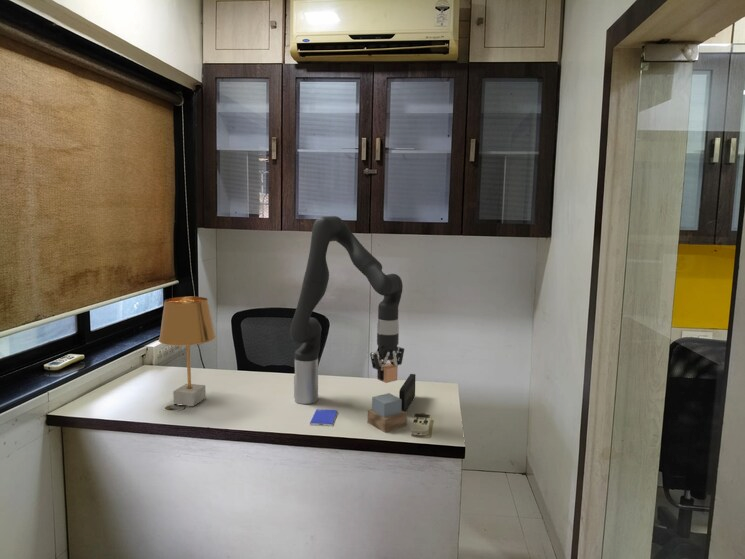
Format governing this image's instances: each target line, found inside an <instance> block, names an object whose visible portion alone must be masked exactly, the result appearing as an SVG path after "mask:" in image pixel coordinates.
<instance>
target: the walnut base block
mask: <svg viewBox="0 0 745 559" xmlns="http://www.w3.org/2000/svg"><path fill="white" fill-rule="evenodd" d="M366 421H367V422H366V423H367V424H369V425H370V426H373V428H376V429H377V430H380V431H381V432H383V433H388V432H391V431H394V430H398V429H399V428H403V427H406V425H408V423H407V422H408V413H407V412H404V411H402V410H401V413H400V414H396V415H392V416H388V417H382V416H380V415H379V414H377V413H375V412H374V411H372V408H371V409H368V410H367V420H366Z"/></svg>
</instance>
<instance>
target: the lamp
mask: <svg viewBox="0 0 745 559" xmlns="http://www.w3.org/2000/svg"><path fill="white" fill-rule="evenodd" d="M161 318H162V319H161V324H160V325H161V326H160V333H159V338H158V342H159V343H160V344H163V345H167V346H175V347H176V346H179V347H180V346H181V347H182V346H185V347H186V350H185V351H186V373H187V376H186V377H187V383H184V384H183V385H181V386H179V387H178V388H175V389H174V390H173V391H172V392H173V393H172V395H173V405H174V404H182V405H190V406H194V405H196V404H197V403H199V402H200V401H201V402H203V401H204V400H206V399H205V398H207V395H206V394H207V392H206V391H207V390H206V384H196V383H192V372H191V369H192V368H191V367H192V366H191V346H194V345H200V344H201V345H202V344H206V343H209V342H212V341H214V340H215V339H216V338H217V335H216V332H215V328H214V322H213V319H212V314H211V309H210V304H209V300H208V298H207V297H203V296H178V297H172V298H168V299H167V298H166V299H165V300H164V303H163V311H162V317H161ZM203 399H204V400H203ZM202 400H203V401H202ZM201 402H200V403H201ZM200 403H199V404H200ZM197 405H198V404H197ZM197 405H196V406H197ZM194 407H195V406H194Z"/></svg>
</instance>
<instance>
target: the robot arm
mask: <svg viewBox="0 0 745 559" xmlns="http://www.w3.org/2000/svg"><path fill="white" fill-rule="evenodd" d="M330 242H336V243H338V244H339V245H341V246H342V247H343V248H344V249H345V250H346V251H347V253H348V256H349V258H350V260H351V262H352V264H353V266H354V267H355V268H356V269H357V270H358V271H360V273H362V275H363V276H365V278H366V279H367V281H368V283H369V284H370V286H371V287H372V289H373V290H374V291H375V292H376V293H377V294H379V295H380V296H383V299H382V300H381V302H379V303H378V306H377V308H378V310H377V323H376V325H377V326H376V345H377V349H376V351H374V352H372V351H371V352H370V353H369V354H370V361H371V365H372V366H371V367H372V369H375V370H376V371H377V370H378V376H376V377H378V379H379V381H380V380H381V382H383V380H384V370H383V369H384V366H385V364H387V363H388V361H389V363H390V364H392V365H395V366H401V365H402V363H403V358H404V354H405V348H404V347H401V346H399V336H400V335H399V334H400V332H399V331H400V330H399V329H400V326H399V306H400V303H401V298H402V293H403V288H404V286H403V281H402V278H401V277H400V276H399V275H398V274H396V273H388V274H386V273H384V271H382V270H383V265H382V263H381V262H380V261H379V260H378V259H377V258H376V257H375V256H374V255H373V254H371V253H370V251H368V250H367V248H365V246H364V245H363V244H362V243H361V242H360V240H358V238H357V237H356V236H355V234H354V233H353V232H352V231H351V229H350V228H349V226H348V225H347V224H346V223H345V221H344V220H342V219H341V217H339V216H335V215H329V216H320V217H317V218H316V219H315V221H314V223H313V226H312V231H311V239H310V247H309V253H308V258H307V263H306V269H305V272H304V276H303V281H302V284H301V285H302V286H301V290H300V294H299V298H298V301H297V306H296V308H295V311H294V315H293V318H292V320H291V323H290V329H289V335H290V339H291V341H292V342H293V343H295V344H301V345H300V347H299V348H297V349H296V350H295V352H294V375H293V388H294V389H293V390H294V391H293V392H294V394H293V398H294V402H296V403H297V404H301V405H310V404H314V403H316V402H318V401H319V353H320V350H321V337H322V334H321V333H322V331H321V330H322V329H321V324H320V322H319V320H318V319H317V318H316V317H311V316H312V313H313V312H314V309H316V307H317V305H318V304H319V303H320V302H321V300H322V298H323V297H324V296H325V294H326V291H327V288H328V284H329V279H330V270H329V266H328V263H327V262H328V261H327V252H328V248H329V245H330ZM378 379H377V380H378Z"/></svg>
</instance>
